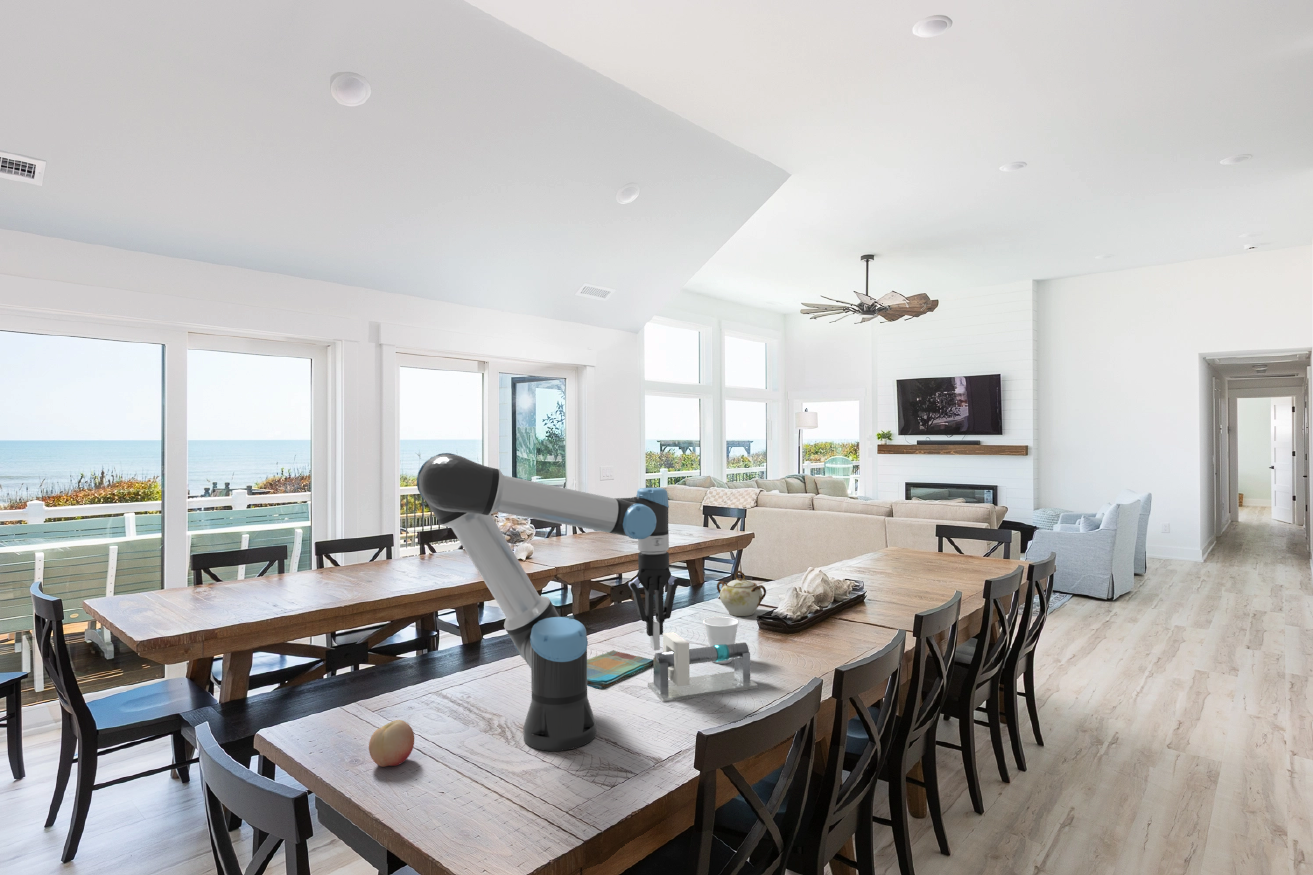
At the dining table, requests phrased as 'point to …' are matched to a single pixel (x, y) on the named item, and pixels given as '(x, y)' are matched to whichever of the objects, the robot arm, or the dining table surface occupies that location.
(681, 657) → the collar
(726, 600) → the sugar bowl
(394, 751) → the fruit
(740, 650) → the pipe rig
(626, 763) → the dining table surface
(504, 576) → the robot arm
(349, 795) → the dining table surface
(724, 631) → the cup
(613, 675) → the dish towel
